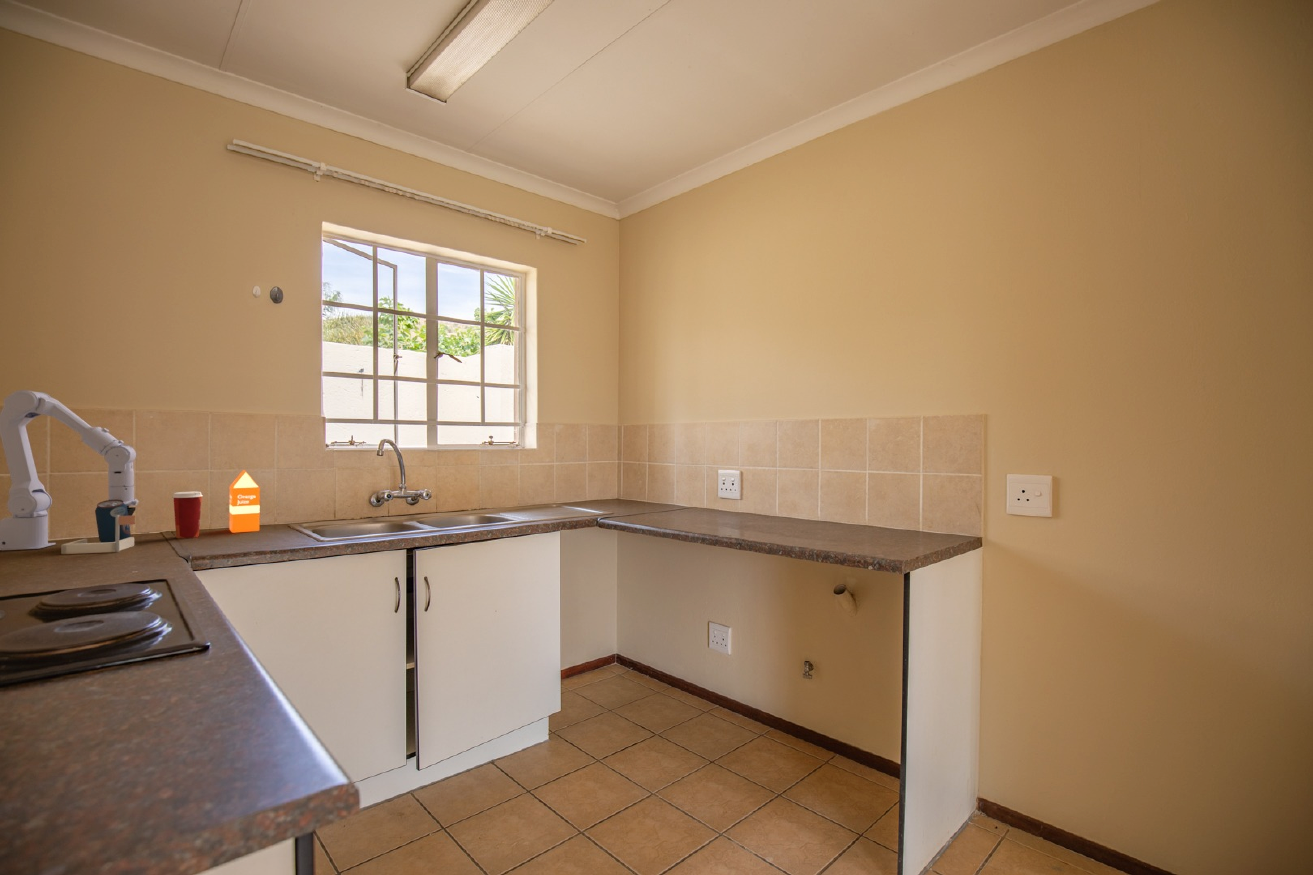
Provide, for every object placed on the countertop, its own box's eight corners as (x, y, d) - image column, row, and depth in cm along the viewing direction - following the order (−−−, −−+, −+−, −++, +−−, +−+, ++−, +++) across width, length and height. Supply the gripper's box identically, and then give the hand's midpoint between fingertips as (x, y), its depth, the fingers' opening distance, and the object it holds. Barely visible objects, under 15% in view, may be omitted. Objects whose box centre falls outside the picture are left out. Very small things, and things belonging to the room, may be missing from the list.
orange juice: (256, 527, 216) (256, 469, 216) (259, 530, 210) (260, 470, 210) (228, 529, 212) (229, 470, 212) (231, 532, 205) (232, 471, 205)
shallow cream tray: (58, 554, 166) (59, 517, 166) (82, 547, 176) (83, 512, 176) (134, 551, 171) (134, 515, 171) (153, 544, 181) (153, 510, 181)
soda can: (133, 542, 182) (128, 504, 178) (102, 549, 177) (96, 509, 173) (128, 534, 186) (123, 496, 183) (97, 540, 181) (92, 501, 178)
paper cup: (208, 535, 199) (209, 491, 199) (188, 539, 191) (188, 493, 191) (186, 534, 200) (186, 491, 200) (165, 538, 192) (165, 493, 192)
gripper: (125, 487, 179) (125, 535, 179) (149, 484, 192) (149, 528, 192) (94, 488, 176) (95, 536, 176) (121, 484, 190) (121, 529, 190)
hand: (121, 532), depth 184 cm, fingers closed, pressing on soda can
